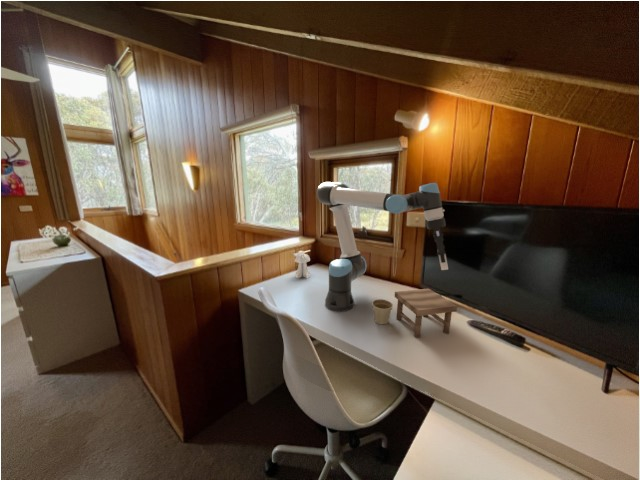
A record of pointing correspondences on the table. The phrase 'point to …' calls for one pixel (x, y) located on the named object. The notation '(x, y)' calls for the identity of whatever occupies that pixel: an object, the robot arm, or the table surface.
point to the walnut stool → (424, 308)
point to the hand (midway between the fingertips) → (444, 266)
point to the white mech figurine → (302, 264)
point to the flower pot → (382, 310)
